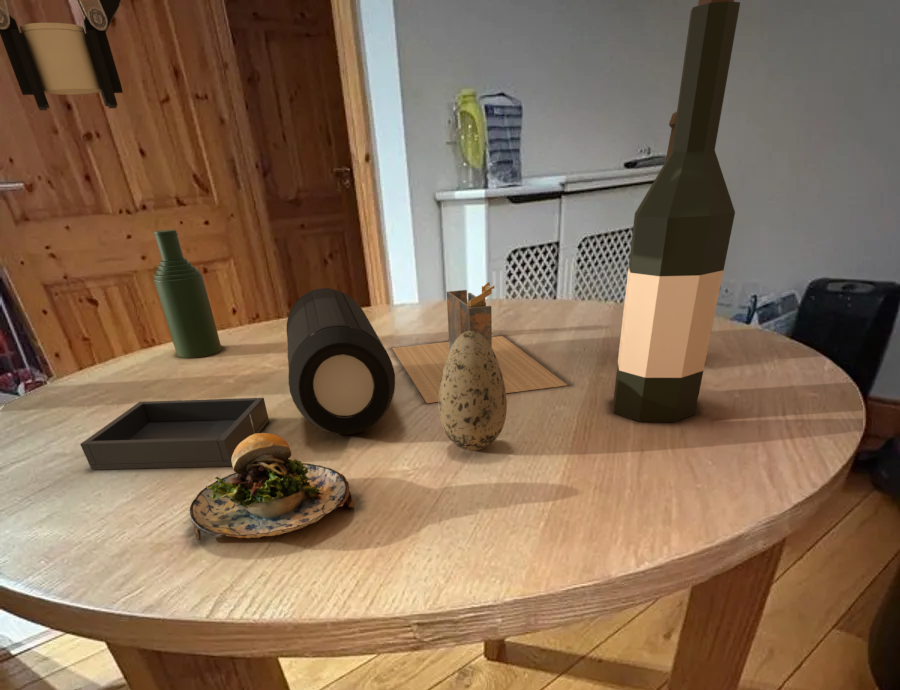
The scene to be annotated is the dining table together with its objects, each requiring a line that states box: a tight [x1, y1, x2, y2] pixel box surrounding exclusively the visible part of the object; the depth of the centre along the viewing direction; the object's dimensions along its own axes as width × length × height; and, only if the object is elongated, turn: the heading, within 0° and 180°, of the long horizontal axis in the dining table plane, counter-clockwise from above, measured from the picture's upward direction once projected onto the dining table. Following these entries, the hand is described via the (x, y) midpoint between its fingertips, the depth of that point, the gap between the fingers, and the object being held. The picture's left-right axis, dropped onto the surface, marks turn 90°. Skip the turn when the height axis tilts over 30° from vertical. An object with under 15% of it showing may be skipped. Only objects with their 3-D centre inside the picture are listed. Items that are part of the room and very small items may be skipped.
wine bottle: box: [612, 0, 741, 423], centre depth 51 cm, size 8×8×30 cm
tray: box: [79, 397, 270, 471], centre depth 58 cm, size 13×11×2 cm
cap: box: [19, 22, 102, 95], centre depth 42 cm, size 4×4×3 cm
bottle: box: [153, 229, 223, 359], centre depth 83 cm, size 6×6×15 cm
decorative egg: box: [438, 331, 508, 451], centre depth 51 cm, size 6×6×10 cm
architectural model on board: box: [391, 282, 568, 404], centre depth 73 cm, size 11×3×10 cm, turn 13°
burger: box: [189, 410, 355, 541], centre depth 44 cm, size 12×12×8 cm
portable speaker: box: [285, 287, 396, 436], centre depth 63 cm, size 26×10×10 cm, turn 13°
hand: (77, 104), depth 44 cm, fingers closed on cap, 3 cm apart
